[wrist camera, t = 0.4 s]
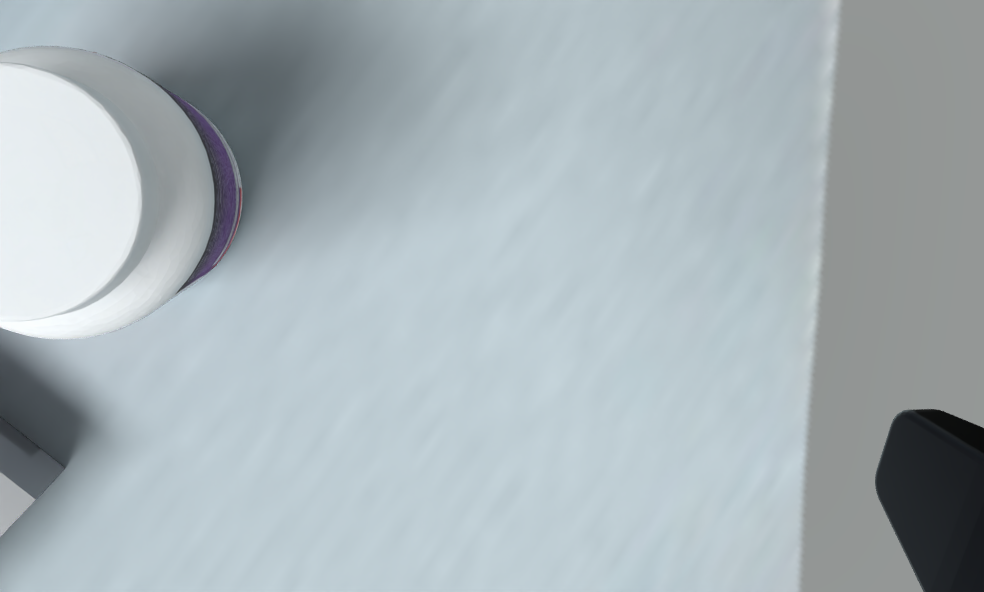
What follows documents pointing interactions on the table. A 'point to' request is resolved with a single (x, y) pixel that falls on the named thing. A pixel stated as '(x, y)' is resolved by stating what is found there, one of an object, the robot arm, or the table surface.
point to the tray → (21, 474)
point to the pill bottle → (103, 194)
